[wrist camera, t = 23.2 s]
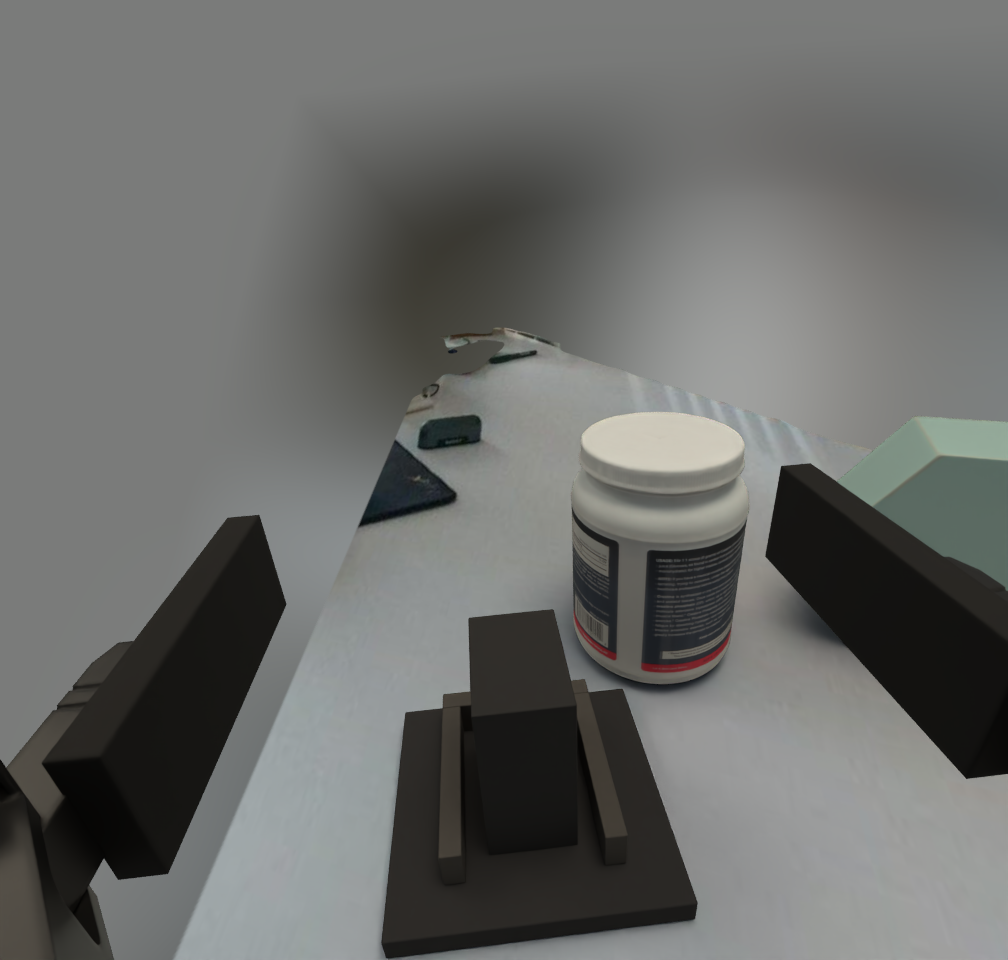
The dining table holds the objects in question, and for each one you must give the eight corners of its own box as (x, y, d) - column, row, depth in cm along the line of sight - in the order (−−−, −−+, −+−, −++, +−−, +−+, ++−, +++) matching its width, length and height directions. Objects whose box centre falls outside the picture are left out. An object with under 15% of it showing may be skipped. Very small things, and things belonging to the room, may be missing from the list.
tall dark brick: (489, 856, 30) (470, 716, 25) (483, 745, 36) (468, 617, 32) (578, 845, 30) (577, 705, 26) (557, 737, 37) (553, 608, 32)
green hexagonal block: (926, 650, 49) (1196, 499, 37) (949, 717, 43) (1283, 560, 31) (769, 537, 51) (982, 356, 39) (769, 586, 44) (1023, 388, 32)
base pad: (385, 959, 28) (372, 916, 26) (408, 726, 40) (400, 686, 38) (695, 919, 28) (703, 875, 26) (622, 702, 41) (624, 662, 39)
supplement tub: (731, 604, 50) (760, 413, 42) (723, 714, 39) (759, 487, 31) (593, 578, 55) (594, 402, 46) (553, 670, 44) (546, 464, 36)
